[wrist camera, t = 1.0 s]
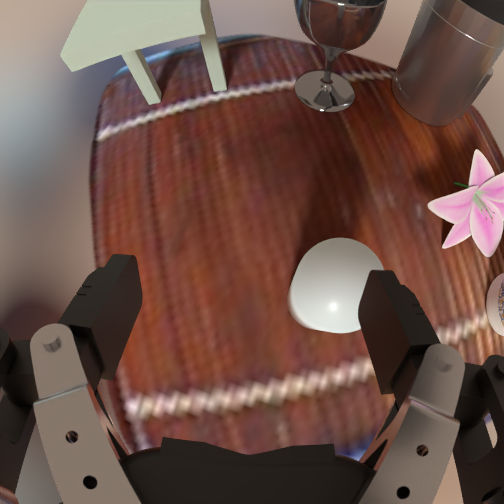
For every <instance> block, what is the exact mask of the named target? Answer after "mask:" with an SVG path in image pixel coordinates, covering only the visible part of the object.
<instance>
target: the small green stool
mask: <svg viewBox="0 0 504 504" xmlns="http://www.w3.org/2000/svg"><path fill="white" fill-rule="evenodd" d="M197 35H199V38H200V42H201V46H202V49H203V53H204V56H205V60H206V64H207V67H208V71H209V75H210V79H211V82H212V86H213V90H214V92H217V91H223V90H227V84H226V78H225V73H224V68H223V64H222V59H221V54H220V50H219V45H218V41H217V36H216V32H215V27H214V22H213V18H212V14H211V9H210V4H209V0H88V1H87V3H86V5H85V6H84V8H83V10H82V12H81V13H80V15H79V17H78V19H77V21H76V23H75V25H74V27H73V29H72V31H71V33H70V35H69V37H68V39H67V41H66V43H65V45H64V47H63V50H62V52H61V54H60V56H61V57H62V59H63V60H64V61H65V63H66V64H67V66H68V67H69V68H70V70H71V71H72V72H74V71H76V70H79V69H81V68H84V67H87V66H89V65H92V64H94V63H97V62H100V61H103V60H106V59H109V58H112V57H115V56H118V55H122V57H123V59H124V60H125V62H126V64H127V66H128V68H129V69H130V71H131V73H132V75H133V77H134V79H135V80H136V82H137V84H138V86H139V88H140V89H141V91H142V93H143V95H144V97H145V98H146V100H147V102H148V104H149V105H150V104H155V103H159V102H161V94H162V93H161V91H160V89H159V87H158V85H157V83H156V81H155V79H154V77H153V75H152V73H151V70H150V68H149V66H148V64H147V62H146V60H145V58H144V56H143V54H142V52H141V50H140V49H141V48H145V47H149V46H152V45H156V44H160V43H164V42H168V41H173V40H177V39H182V38H187V37H192V36H197Z"/></svg>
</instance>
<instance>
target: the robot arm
mask: <svg viewBox="0 0 504 504" xmlns="http://www.w3.org/2000/svg"><path fill="white" fill-rule="evenodd" d="M503 49H504V0H423V1H422V4H421V7H420V10H419V13H418V15H417V18H416V21H415V24H414V26H413V29H412V31H411V35H410V37H409V40H408V42H407V45H406V47H405V50H404V52H403V55H402V57H401V60H400V63H399V65H398V67H397V70H396V72H395V75H394V77H393V80H392V91H393V95H394V96H395V98H396V100H397V102H398V103H399V104H400V105H401V107H402V108H403V109H404V110H405V111H406V112H407V113H409V114H410V115H411V116H413V117H414V118H416V119H418V120H419V121H421V122H424V123H426V124H428V125H433V126H446V125H448V124H450V123H452V121H453V120H454V119H455V118H461V117H462V116H463V115H464V113H465V112H466V111H467V110H468V108H469V107H470V106H471V104H472V103H473V102H474V100H475V99H476V97H477V96H478V95H479V93H480V92H481V91H482V89H483V88H484V87H485V85H486V84H487V82H488V81H489V80H490V78H491V77H492V75H493V70H492V68H491V67H492V66H493V64H494V63H495V61H496V60H497V58H498V56H499V55H500V54H501V52H502V51H503ZM141 305H142V288H141V282H140V277H139V271H138V265H137V259H136V257H135V256H134V255H123V254H113V255H112V256H111V258H110V259H109V261H108V262H107V264H106V265H105V267H99V268H98V269H96V270H95V271H94V272H92V273H91V274H90V275H89V276H88V277H87V278H86V280H85V281H84V283H83V284H82V287H80V289H79V290H78V292H77V295H75V296H74V298H73V299H72V301H71V302H70V304H69V306H68V307H67V309H66V310H65V312H64V313H63V315H62V317H61V319H60V320H59V321H58V323H57V324H50V325H47V326H44V327H43V328H41V329H39V330H38V331H37V332H36V333H35V334H34V336H33V337H32V339H31V340H19V341H12V340H11V338H10V336H9V335H8V333H7V332H6V330H4V329H1V328H0V389H1V390H2V391H3V393H4V395H3V397H2V400H1V402H0V504H19V502H18V500H17V498H16V496H15V491H16V487H17V483H18V479H19V475H20V471H21V468H22V464H23V461H24V457H25V454H26V451H27V447H28V444H29V441H30V438H31V435H32V432H33V429H34V426H35V423H36V421H37V425H38V429H39V433H40V436H41V440H42V443H43V447H44V450H45V454H46V456H47V460H48V463H49V466H50V469H51V472H52V475H53V478H54V481H55V483H56V486H57V489H58V491H59V493H60V496H61V499H62V502H61V503H60V504H432V503H433V500H434V498H435V496H436V493H437V491H438V489H439V486H440V484H441V481H442V478H443V475H444V473H445V470H446V467H447V465H448V462H449V459H450V456H451V452H452V451H453V455H454V459H455V463H456V468H457V472H458V477H459V482H460V487H461V492H462V497H463V503H464V504H504V357H502V356H500V355H491V356H489V357H488V358H487V360H486V361H485V362H484V364H483V365H482V366H481V365H475V364H470V363H465V362H464V360H463V358H462V356H461V355H460V354H459V352H458V351H456V350H455V349H454V348H452V347H450V346H448V345H445V344H441V343H440V341H439V339H438V337H437V335H436V333H435V331H434V329H433V327H432V325H431V323H430V322H429V320H428V318H427V316H426V315H425V312H424V311H423V309H422V307H420V303H419V302H418V300H417V298H416V296H415V294H414V293H412V292H411V291H410V290H409V289H408V288H407V287H406V286H405V285H401V284H400V282H399V281H398V279H397V277H396V275H395V274H394V272H393V271H391V270H371V271H370V272H369V275H368V278H367V281H366V284H365V287H364V290H363V294H362V297H361V300H360V303H359V307H358V320H359V323H360V326H361V329H362V333H363V336H364V339H365V342H366V345H367V348H368V351H369V354H370V358H371V361H372V364H373V368H374V371H375V374H376V378H377V381H378V385H379V388H380V392H381V395H383V394H393V393H394V396H395V400H394V401H393V403H392V405H391V407H390V409H389V411H388V413H387V415H386V417H385V419H384V421H383V423H382V424H381V426H380V428H379V430H378V432H377V434H376V436H375V437H374V439H373V441H372V443H371V445H370V446H369V448H368V449H367V451H366V452H365V453H364V455H363V456H362V457H361V459H360V460H359V461H357V460H354V459H352V458H349V457H346V456H342V455H338V454H335V451H334V444H323V445H303V446H290V447H286V448H282V449H277V450H273V451H268V452H263V453H259V454H253V455H245V454H241V453H238V452H234V451H231V450H227V449H224V448H221V447H217V446H214V445H211V444H208V443H205V442H197V441H188V440H180V439H173V438H166V437H163V439H162V444H161V447H155V448H149V449H145V450H141V451H138V452H135V453H133V454H129V452H128V450H127V448H126V447H125V445H124V443H123V442H122V440H121V438H120V436H119V434H118V432H117V430H116V428H115V426H114V424H113V422H112V419H111V417H110V415H109V412H108V410H107V408H106V405H105V403H104V401H103V398H102V396H101V393H100V391H99V389H98V387H97V386H98V384H99V381H100V379H101V378H102V379H107V380H113V378H114V375H115V372H116V370H117V367H118V364H119V361H120V359H121V356H122V354H123V351H124V348H125V346H126V343H127V341H128V338H129V336H130V333H131V331H132V328H133V326H134V323H135V321H136V318H137V316H138V314H139V311H140V309H141ZM489 413H490V415H491V418H492V420H493V423H494V426H495V429H496V432H497V443H496V446H495V447H494V448H493V447H492V443H491V440H490V437H489V434H488V431H487V428H486V425H485V422H484V418H485V417H486V416H487V415H488V414H489Z"/></svg>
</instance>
